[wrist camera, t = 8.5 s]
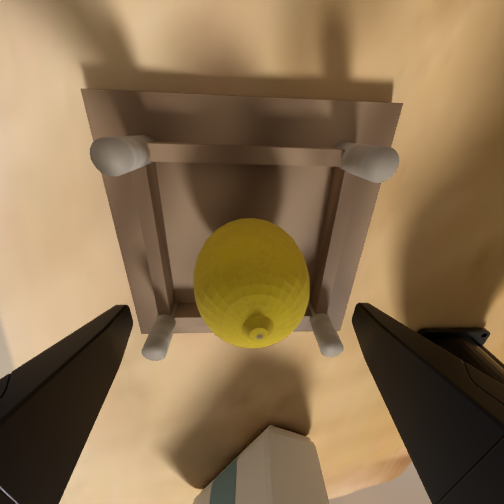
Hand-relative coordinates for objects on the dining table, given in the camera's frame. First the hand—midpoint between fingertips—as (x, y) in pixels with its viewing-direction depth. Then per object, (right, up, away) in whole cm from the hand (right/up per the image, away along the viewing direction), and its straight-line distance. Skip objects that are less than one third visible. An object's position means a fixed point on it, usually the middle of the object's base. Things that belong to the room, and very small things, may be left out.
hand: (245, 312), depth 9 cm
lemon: (0, +3, +6) cm, 7 cm away
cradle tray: (0, +3, +7) cm, 8 cm away
